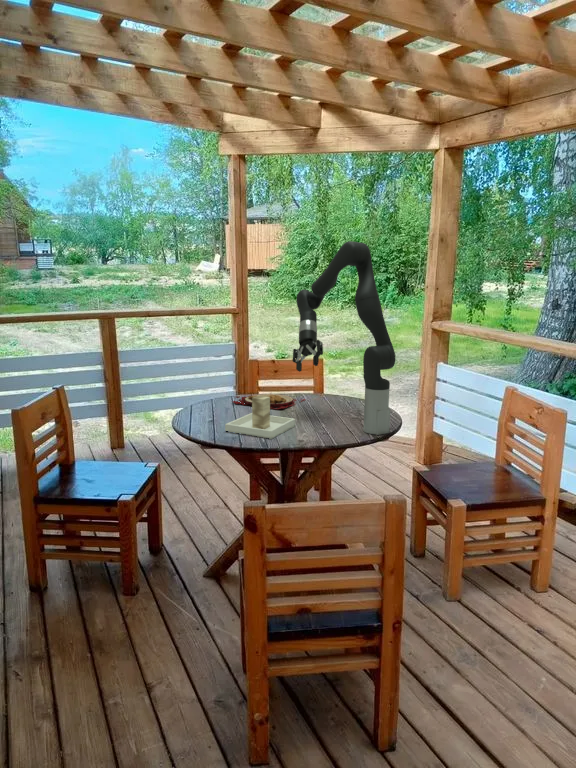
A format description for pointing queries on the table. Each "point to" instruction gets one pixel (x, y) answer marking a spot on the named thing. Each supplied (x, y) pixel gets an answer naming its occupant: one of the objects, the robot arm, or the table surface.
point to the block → (261, 412)
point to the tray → (275, 429)
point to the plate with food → (275, 400)
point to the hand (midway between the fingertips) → (307, 368)
